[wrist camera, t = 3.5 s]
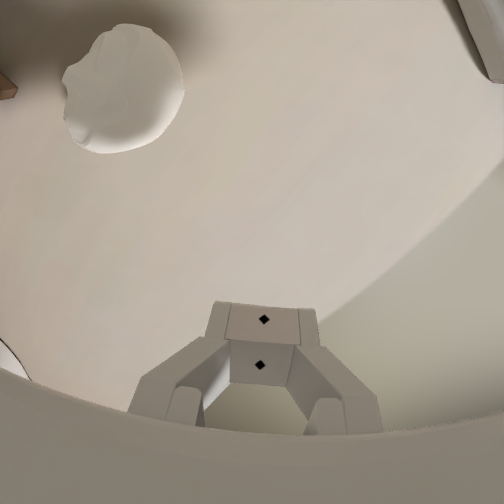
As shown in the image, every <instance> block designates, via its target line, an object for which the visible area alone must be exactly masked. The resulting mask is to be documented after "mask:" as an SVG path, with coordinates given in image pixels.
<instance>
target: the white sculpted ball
mask: <svg viewBox="0 0 504 504" xmlns="http://www.w3.org/2000/svg"><path fill="white" fill-rule="evenodd" d="M61 82H62V83H63V84H64V85H65V87H66V89H67V94H68V97H67V101H66V105H65V109H64V120H65V121H66V123H67V125H68V130H69V132H70V135H71V136H72V138H73V140H74V141H75V142H76V143H77V144H78V145H79V146H80V147H83V148H85V149H87V150H90V151H92V152H95V153H101V154H109V153H117V152H123V151H127V150H131V149H134V148H138V147H140V146H143V145H146V144H148V143H150V142H152V141H153V140H155V139H156V138H157V137H159V136H160V135H161V134H162V133H163V131H164V130H165V129H166V128H167V127H168V125H169V124H170V123H171V121H172V120H173V118H174V117H175V115H176V113H177V111H178V109H179V107H180V105H181V102H182V100H183V97H184V94H185V90H184V88H183V76H182V70H181V65H180V63H179V60H178V58H177V56H176V54H175V52H174V51H173V49H172V48H171V46H170V45H169V44H168V43H167V42H166V41H165V40H164V39H162V38H161V37H160V36H158V35H157V34H155V33H154V32H153V31H152V29H150V28H147V27H143V26H139V25H134V24H118V25H116V26H115V27H113V28H112V30H111V31H107V32H103V33H101V34H100V35H99V36H98V37H97V39H96V40H95V41H94V43H93V44H92V47H91V49H90V51H89V53H88V54H86V55H85V56H84V57H83V58H82V59H81V60H80V61H79V62H78V63H76V64H73V65H71V66H68V67H67V69H66V71H65V73H64V75H63V78H62V81H61Z"/></svg>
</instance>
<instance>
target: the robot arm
mask: <svg viewBox="0 0 504 504" xmlns="http://www.w3.org/2000/svg"><path fill="white" fill-rule="evenodd" d="M229 382H231V383H244V384H260V385H269V386H281V387H286V389H287V390H288V392H289V393H290V395H291V396H292V398H293V399H294V401H295V402H296V404H297V405H298V407H299V408H300V410H301V411H302V413H303V414H304V415H305V417H306V418H307V420H308V424H307V426H306V429H305V431H304V433H303V435H276V434H260V433H246V432H237V431H228V430H218V429H212V428H206V425H205V417H204V410H205V409H206V408H207V407H208V406H209V405H210V404H211V403H212V402H213V401H214V400H215V399H216V398H217V396H218V395H219V394H220V393H221V392H222V391H223V390H224V389H225V388H226V387H227V386H228V385H229ZM0 504H504V410H500V411H497V412H493V413H490V414H486V415H481V416H477V417H474V418H469V419H465V420H460V421H455V422H450V423H445V424H440V425H434V426H428V427H421V428H415V429H407V430H399V431H390V432H384V429H383V424H382V419H381V414H380V410H379V405H378V401H377V397H376V395H375V394H373V392H372V391H370V390H369V389H368V388H367V387H366V386H365V385H364V384H363V383H362V382H361V381H360V380H359V379H358V378H357V377H356V376H355V375H354V374H353V373H352V372H351V371H350V370H349V369H348V368H347V367H346V366H345V365H344V364H343V363H342V362H341V361H340V360H339V359H338V358H336V357H335V356H334V355H333V354H332V353H331V352H330V351H329V350H328V349H327V348H326V347H323V346H320V339H319V332H318V325H317V318H316V311H315V310H314V309H306V308H298V309H295V308H280V307H267V306H259V305H249V304H240V303H230V302H221V301H215V303H214V304H213V308H212V311H211V315H210V319H209V322H208V326H207V330H206V333H205V337H198V338H197V339H195V340H194V341H193V342H191V343H190V344H188V345H187V346H185V347H184V348H183V349H181V350H180V351H178V352H177V353H175V354H174V355H173V356H171V357H170V358H168V359H167V360H165V361H164V362H163V363H161V364H160V365H158V366H157V367H155V368H154V369H152V370H151V371H149V372H148V373H147V374H145V375H144V376H142V377H141V379H140V381H139V384H138V386H137V389H136V391H135V394H134V396H133V399H132V401H131V404H130V406H129V409H128V411H127V412H124V411H120V410H116V409H113V408H109V407H106V406H102V405H99V404H95V403H92V402H89V401H86V400H82V399H79V398H76V397H73V396H70V395H67V394H65V393H62V392H59V391H56V390H53V389H51V388H48V387H46V386H43V385H40V384H38V383H35V382H33V381H31V380H30V379H29V378H28V376H27V374H26V372H25V370H24V369H23V367H22V366H21V364H20V363H19V361H18V360H17V359H16V357H15V356H14V355H13V354H12V352H11V351H10V350H9V349H8V348H7V347H6V346H5V345H4V344H3V343H2V342H1V341H0Z"/></svg>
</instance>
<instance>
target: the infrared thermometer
mask: <svg viewBox="0 0 504 504" xmlns="http://www.w3.org/2000/svg"><path fill="white" fill-rule="evenodd" d="M458 3H459V5H460V7H461V10H462V12H463V15H464V18H465V20H466V23H467V26H468V28H469V31H470V33H471V35H472V37H473V39H474V41H475V44H476V46H477V48H478V51H479V53H480V55H481V58H482V60H483V63H484V65H485V68H486V70H487V73H488V76H489V78H490V80H492V83H498V84H504V0H458Z"/></svg>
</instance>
